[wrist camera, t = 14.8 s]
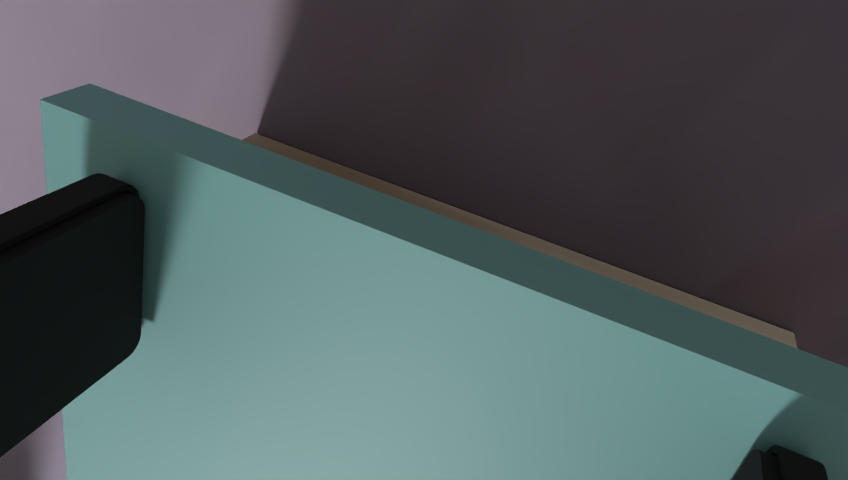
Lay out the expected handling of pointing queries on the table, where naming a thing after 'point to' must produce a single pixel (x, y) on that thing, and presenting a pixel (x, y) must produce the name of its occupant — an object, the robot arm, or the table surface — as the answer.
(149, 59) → the table surface
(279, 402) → the teal square plate
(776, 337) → the block
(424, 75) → the table surface
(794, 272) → the table surface
